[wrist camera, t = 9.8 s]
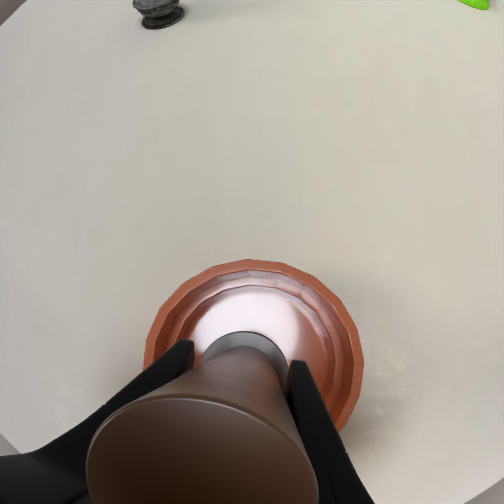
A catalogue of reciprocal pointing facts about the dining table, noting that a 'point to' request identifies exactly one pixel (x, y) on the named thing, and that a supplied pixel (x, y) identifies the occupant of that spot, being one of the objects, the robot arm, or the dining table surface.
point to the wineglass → (477, 3)
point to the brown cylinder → (207, 436)
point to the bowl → (268, 323)
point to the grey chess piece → (158, 12)
